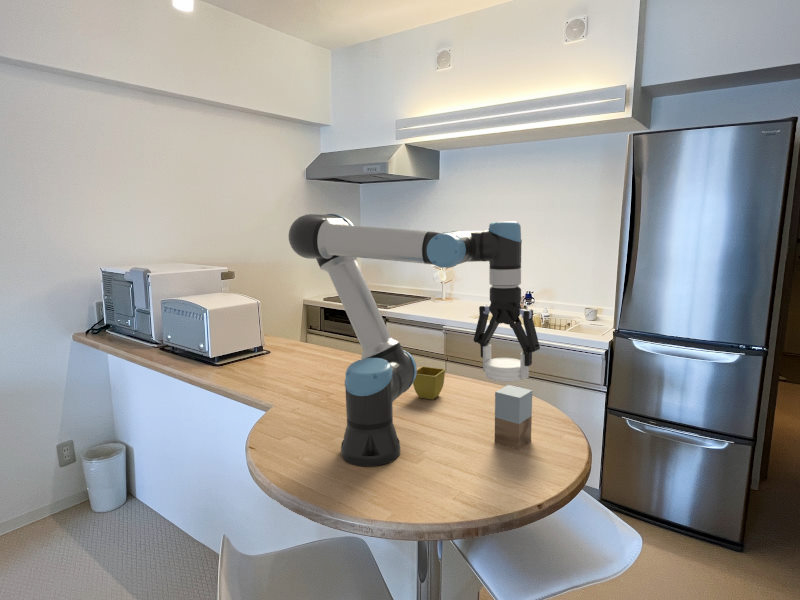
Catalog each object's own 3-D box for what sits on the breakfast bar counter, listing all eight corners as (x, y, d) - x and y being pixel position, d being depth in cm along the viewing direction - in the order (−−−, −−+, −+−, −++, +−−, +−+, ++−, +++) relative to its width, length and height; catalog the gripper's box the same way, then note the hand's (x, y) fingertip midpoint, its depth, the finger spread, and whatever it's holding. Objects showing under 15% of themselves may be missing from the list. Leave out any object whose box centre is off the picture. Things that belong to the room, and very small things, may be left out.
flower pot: (411, 399, 161) (410, 372, 160) (422, 390, 169) (422, 365, 167) (435, 403, 157) (435, 376, 156) (445, 394, 165) (445, 369, 163)
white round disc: (498, 368, 128) (498, 355, 127) (533, 374, 121) (533, 361, 121) (477, 377, 121) (477, 363, 120) (513, 385, 114) (513, 370, 113)
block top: (519, 424, 123) (519, 397, 122) (494, 417, 127) (495, 391, 126) (531, 415, 128) (532, 390, 127) (507, 409, 133) (508, 384, 132)
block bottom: (518, 449, 124) (519, 424, 123) (494, 442, 129) (494, 417, 127) (531, 440, 129) (531, 415, 128) (507, 433, 134) (507, 409, 133)
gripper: (556, 286, 112) (554, 379, 116) (475, 281, 128) (476, 363, 131) (540, 290, 107) (539, 387, 110) (458, 284, 123) (459, 369, 126)
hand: (505, 374), depth 121 cm, fingers closed on white round disc, 10 cm apart
